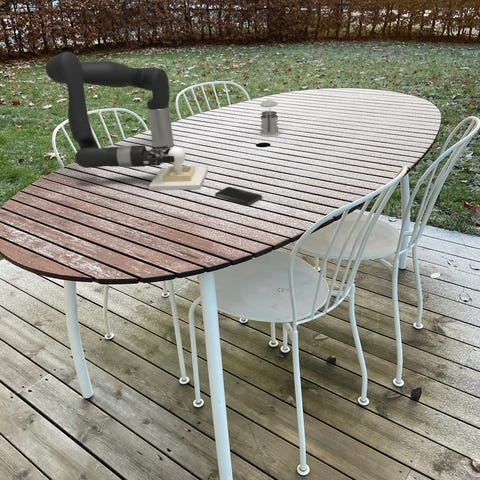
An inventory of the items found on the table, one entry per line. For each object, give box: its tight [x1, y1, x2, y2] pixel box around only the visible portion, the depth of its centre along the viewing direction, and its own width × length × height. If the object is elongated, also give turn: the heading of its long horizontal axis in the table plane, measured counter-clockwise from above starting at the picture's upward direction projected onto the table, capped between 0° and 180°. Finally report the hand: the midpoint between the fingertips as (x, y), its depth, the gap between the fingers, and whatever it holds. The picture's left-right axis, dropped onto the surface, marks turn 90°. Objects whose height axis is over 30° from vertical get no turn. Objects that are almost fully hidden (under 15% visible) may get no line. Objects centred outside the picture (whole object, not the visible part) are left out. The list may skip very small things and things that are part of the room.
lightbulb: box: [167, 146, 186, 175], centre depth 169 cm, size 6×6×11 cm
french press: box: [258, 77, 281, 138], centre depth 212 cm, size 10×12×25 cm
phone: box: [214, 186, 263, 206], centre depth 156 cm, size 8×1×15 cm
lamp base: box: [148, 165, 209, 191], centre depth 172 cm, size 18×18×4 cm
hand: (176, 155), depth 168 cm, fingers open, 8 cm apart
